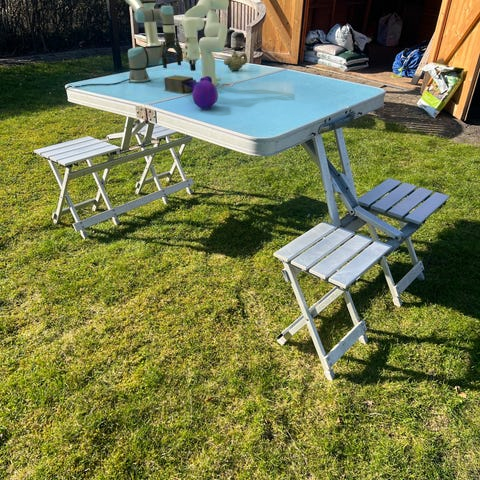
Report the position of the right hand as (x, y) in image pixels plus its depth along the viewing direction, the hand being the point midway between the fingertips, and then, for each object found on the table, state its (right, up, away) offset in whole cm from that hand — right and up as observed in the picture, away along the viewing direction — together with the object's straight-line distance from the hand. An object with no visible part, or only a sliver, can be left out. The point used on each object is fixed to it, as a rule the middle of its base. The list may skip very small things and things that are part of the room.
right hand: (193, 70), depth 294 cm
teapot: (+27, +28, +75) cm, 85 cm away
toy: (+8, -31, -24) cm, 40 cm away
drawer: (-6, -9, +11) cm, 15 cm away
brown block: (-11, -8, +15) cm, 20 cm away
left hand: (-15, +6, +10) cm, 19 cm away
